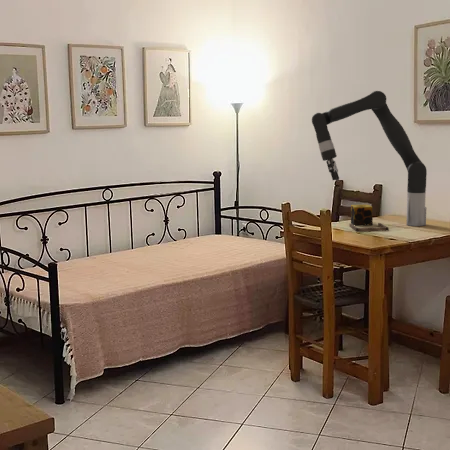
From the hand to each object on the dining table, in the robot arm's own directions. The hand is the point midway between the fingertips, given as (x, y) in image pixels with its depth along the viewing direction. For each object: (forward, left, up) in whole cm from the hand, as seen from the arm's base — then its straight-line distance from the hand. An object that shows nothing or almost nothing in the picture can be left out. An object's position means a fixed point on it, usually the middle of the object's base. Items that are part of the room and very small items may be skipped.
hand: (336, 179), depth 364 cm
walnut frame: (-15, +10, -24) cm, 30 cm away
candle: (-15, -4, -25) cm, 29 cm away
